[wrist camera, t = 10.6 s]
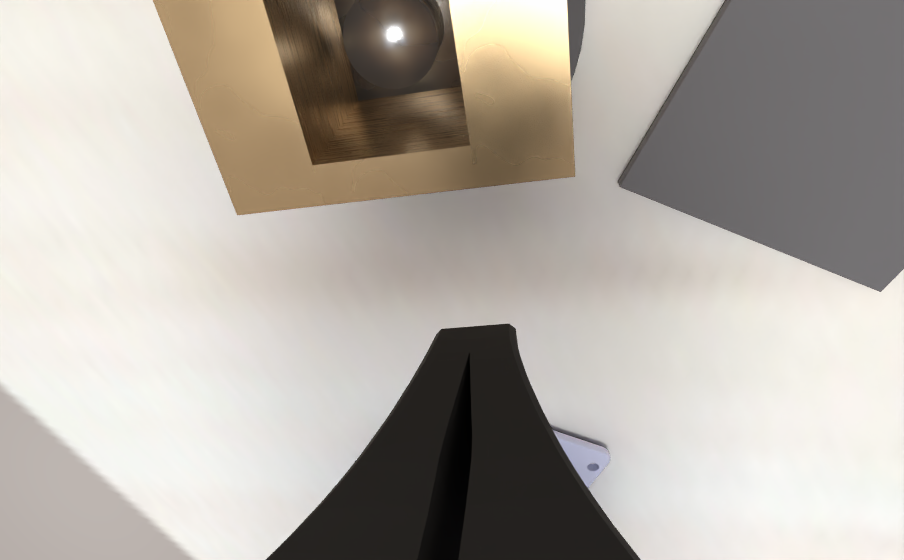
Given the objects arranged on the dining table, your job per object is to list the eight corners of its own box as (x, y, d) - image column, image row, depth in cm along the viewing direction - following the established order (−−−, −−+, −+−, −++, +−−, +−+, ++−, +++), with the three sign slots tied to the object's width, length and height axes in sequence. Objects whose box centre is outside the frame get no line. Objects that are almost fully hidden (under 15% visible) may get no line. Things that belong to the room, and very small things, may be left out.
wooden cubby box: (558, 107, 17) (574, 176, 13) (298, 142, 18) (236, 215, 14) (544, -122, 14) (560, -130, 10) (235, -63, 15) (133, -48, 11)
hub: (496, 224, 20) (495, 264, 18) (209, 115, 19) (170, 144, 17) (652, -97, 15) (677, -96, 13) (268, -282, 14) (224, -316, 11)
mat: (874, 285, 20) (880, 291, 20) (617, 181, 19) (620, 186, 19) (1247, -98, 14) (1265, -98, 14) (900, -295, 13) (911, -301, 12)
